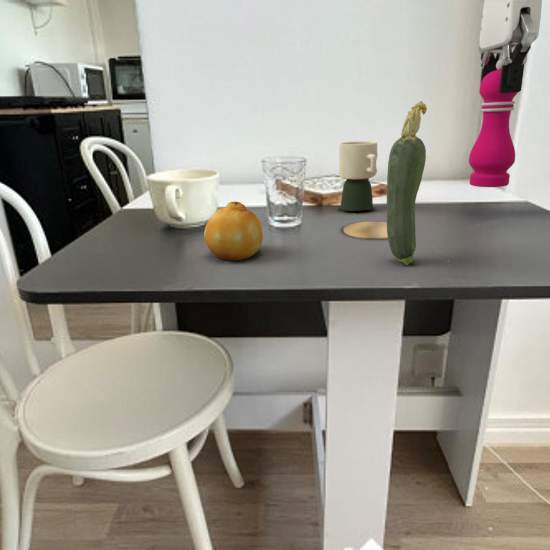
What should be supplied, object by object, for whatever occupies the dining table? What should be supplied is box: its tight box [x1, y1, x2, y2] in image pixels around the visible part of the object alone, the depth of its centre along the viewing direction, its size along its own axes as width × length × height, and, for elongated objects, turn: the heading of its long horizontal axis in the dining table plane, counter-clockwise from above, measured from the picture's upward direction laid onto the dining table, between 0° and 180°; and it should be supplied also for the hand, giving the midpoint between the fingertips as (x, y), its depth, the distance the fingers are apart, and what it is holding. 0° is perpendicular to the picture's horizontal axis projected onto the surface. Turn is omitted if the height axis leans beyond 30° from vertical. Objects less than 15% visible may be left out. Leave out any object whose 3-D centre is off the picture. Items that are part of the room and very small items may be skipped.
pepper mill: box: [468, 58, 519, 188], centre depth 74 cm, size 7×7×20 cm
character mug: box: [338, 140, 378, 213], centre depth 84 cm, size 11×7×13 cm, turn 24°
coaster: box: [343, 220, 388, 240], centre depth 72 cm, size 10×10×1 cm
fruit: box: [203, 200, 264, 261], centre depth 62 cm, size 8×8×8 cm
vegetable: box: [386, 100, 428, 266], centre depth 55 cm, size 4×4×20 cm
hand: (499, 92), depth 72 cm, fingers closed on pepper mill, 6 cm apart
